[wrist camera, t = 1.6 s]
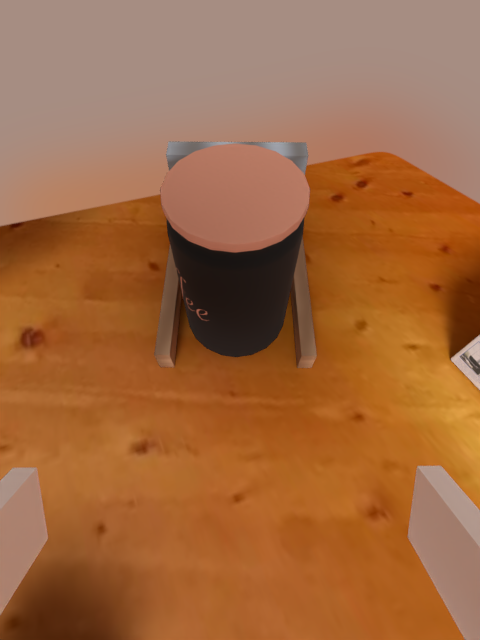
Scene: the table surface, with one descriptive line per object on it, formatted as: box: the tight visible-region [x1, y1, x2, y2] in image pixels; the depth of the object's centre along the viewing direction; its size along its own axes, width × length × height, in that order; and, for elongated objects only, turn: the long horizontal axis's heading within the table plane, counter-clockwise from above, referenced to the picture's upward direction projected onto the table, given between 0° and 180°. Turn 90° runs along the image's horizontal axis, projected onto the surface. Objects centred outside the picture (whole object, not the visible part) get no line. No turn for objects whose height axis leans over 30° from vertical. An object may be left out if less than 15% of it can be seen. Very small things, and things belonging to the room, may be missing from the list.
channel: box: [154, 142, 317, 368], centre depth 39 cm, size 16×24×10 cm, turn 0°
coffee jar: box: [160, 144, 310, 357], centre depth 33 cm, size 11×11×18 cm
